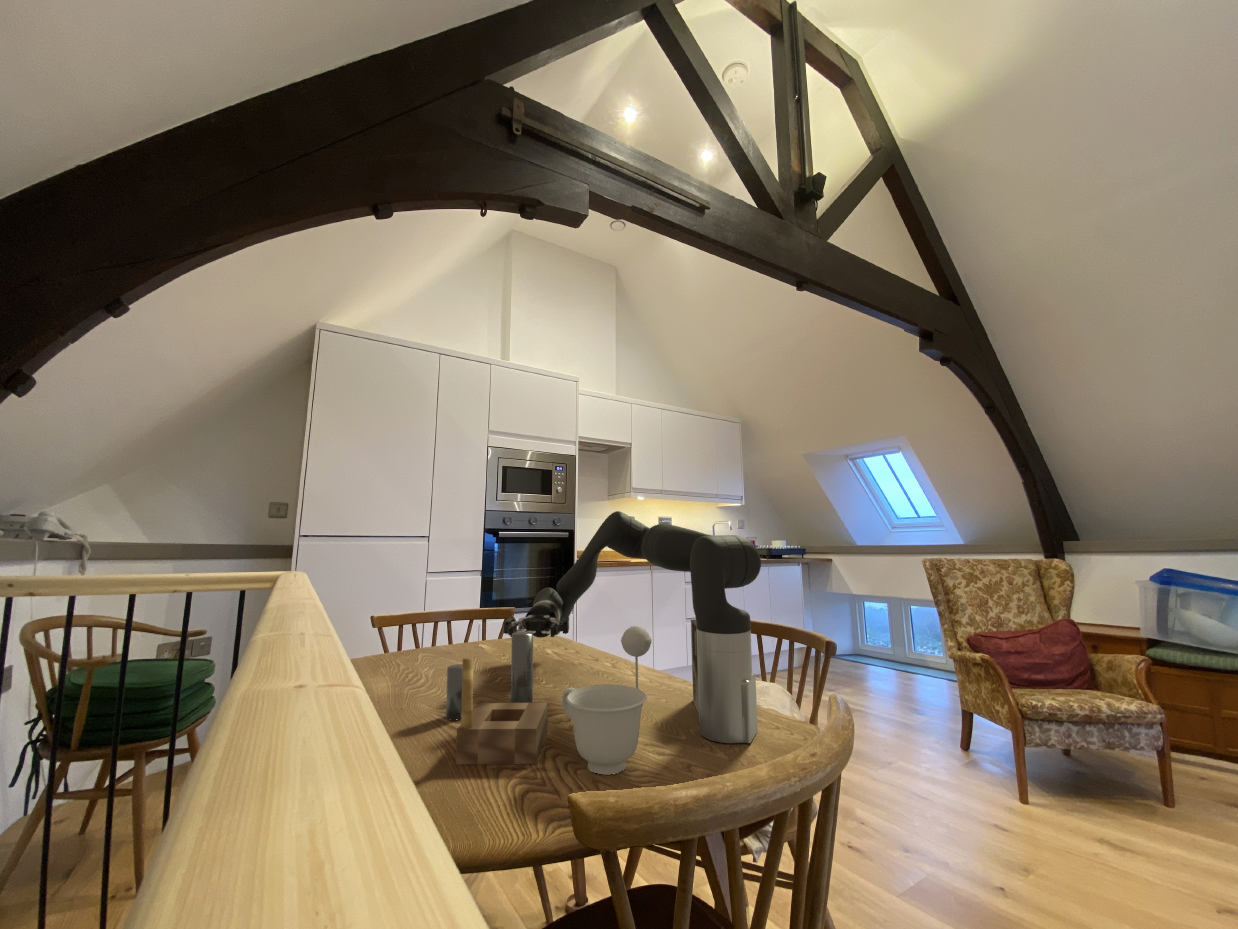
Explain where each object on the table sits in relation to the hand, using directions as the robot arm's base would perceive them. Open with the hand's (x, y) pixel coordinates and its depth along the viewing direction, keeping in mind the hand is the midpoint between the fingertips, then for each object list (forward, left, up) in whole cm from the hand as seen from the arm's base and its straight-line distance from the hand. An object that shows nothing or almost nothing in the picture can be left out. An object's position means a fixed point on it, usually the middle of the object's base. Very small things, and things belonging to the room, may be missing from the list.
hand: (532, 632), depth 113 cm
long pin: (-5, +10, -13) cm, 17 cm away
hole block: (-11, +23, -13) cm, 29 cm away
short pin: (+6, +15, -13) cm, 21 cm away
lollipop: (-22, -5, -13) cm, 26 cm away
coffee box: (-36, -9, -13) cm, 39 cm away
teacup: (-28, +22, -13) cm, 38 cm away
